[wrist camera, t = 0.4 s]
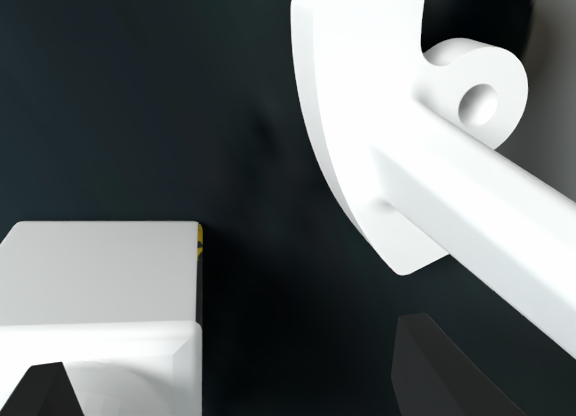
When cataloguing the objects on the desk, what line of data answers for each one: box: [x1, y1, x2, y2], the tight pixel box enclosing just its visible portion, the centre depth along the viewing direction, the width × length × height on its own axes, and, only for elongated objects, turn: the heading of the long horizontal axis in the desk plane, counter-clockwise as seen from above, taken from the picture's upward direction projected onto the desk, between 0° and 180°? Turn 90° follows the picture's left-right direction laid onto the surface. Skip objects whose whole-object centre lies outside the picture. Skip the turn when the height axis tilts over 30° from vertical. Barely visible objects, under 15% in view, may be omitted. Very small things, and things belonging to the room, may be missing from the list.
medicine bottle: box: [0, 221, 203, 416], centre depth 17 cm, size 7×7×12 cm
